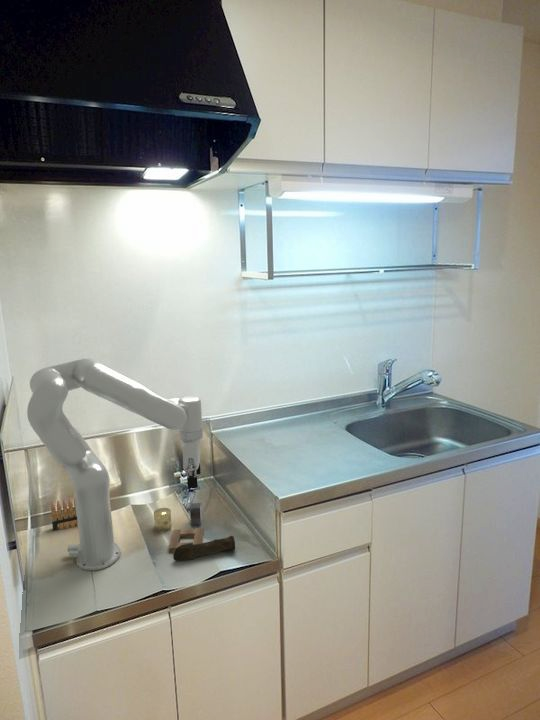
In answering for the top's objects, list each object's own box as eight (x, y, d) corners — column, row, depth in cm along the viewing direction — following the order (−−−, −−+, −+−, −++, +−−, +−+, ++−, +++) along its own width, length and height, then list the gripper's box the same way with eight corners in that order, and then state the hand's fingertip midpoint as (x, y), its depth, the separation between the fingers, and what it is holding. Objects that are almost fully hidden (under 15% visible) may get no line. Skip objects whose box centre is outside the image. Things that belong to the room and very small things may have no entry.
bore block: (168, 554, 141) (168, 548, 141) (173, 535, 151) (173, 529, 151) (201, 552, 142) (200, 546, 141) (203, 533, 152) (203, 528, 151)
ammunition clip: (87, 525, 158) (83, 493, 155) (87, 528, 156) (83, 496, 154) (53, 532, 154) (49, 500, 151) (53, 535, 152) (48, 503, 150)
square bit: (191, 527, 156) (189, 508, 154) (192, 521, 159) (191, 503, 157) (201, 526, 156) (200, 508, 154) (201, 521, 159) (200, 502, 158)
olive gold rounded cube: (153, 534, 152) (152, 517, 150) (156, 524, 157) (155, 508, 156) (170, 533, 152) (169, 516, 151) (173, 524, 158) (171, 507, 156)
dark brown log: (233, 544, 145) (232, 531, 144) (236, 551, 141) (235, 538, 140) (173, 556, 140) (172, 542, 139) (174, 564, 136) (173, 550, 135)
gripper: (183, 424, 158) (186, 469, 162) (176, 444, 141) (179, 494, 145) (204, 423, 159) (207, 468, 162) (200, 443, 142) (203, 493, 145)
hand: (194, 480), depth 154 cm, fingers open, 9 cm apart
